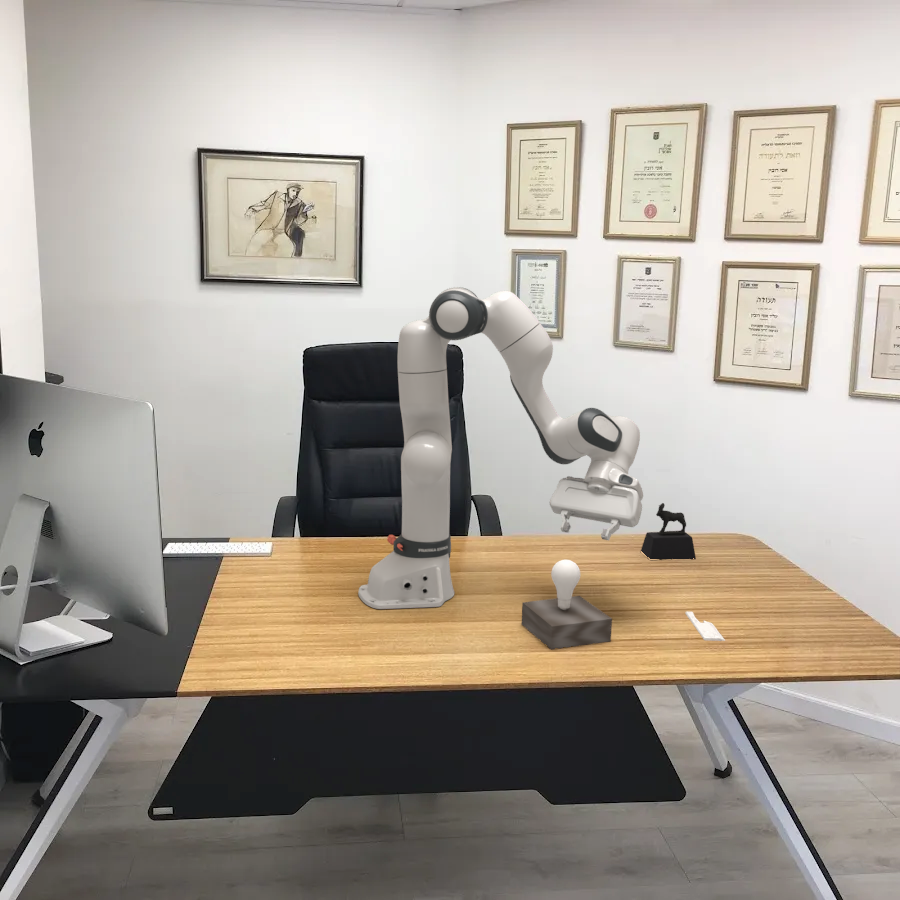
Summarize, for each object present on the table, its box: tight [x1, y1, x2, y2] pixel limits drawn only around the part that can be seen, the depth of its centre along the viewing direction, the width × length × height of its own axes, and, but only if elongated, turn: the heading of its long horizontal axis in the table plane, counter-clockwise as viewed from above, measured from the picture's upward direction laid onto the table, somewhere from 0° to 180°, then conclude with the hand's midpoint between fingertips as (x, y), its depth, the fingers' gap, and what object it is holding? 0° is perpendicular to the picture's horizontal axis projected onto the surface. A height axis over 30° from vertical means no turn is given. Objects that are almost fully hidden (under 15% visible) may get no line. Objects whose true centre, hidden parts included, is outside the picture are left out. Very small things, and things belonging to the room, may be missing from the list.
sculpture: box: [640, 502, 696, 560], centre depth 251 cm, size 8×13×15 cm, turn 97°
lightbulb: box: [550, 559, 581, 610], centre depth 197 cm, size 6×6×11 cm
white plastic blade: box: [684, 611, 726, 642], centre depth 204 cm, size 5×15×1 cm, turn 1°
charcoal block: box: [521, 595, 613, 650], centre depth 198 cm, size 14×14×5 cm
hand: (584, 534), depth 201 cm, fingers open, 8 cm apart
